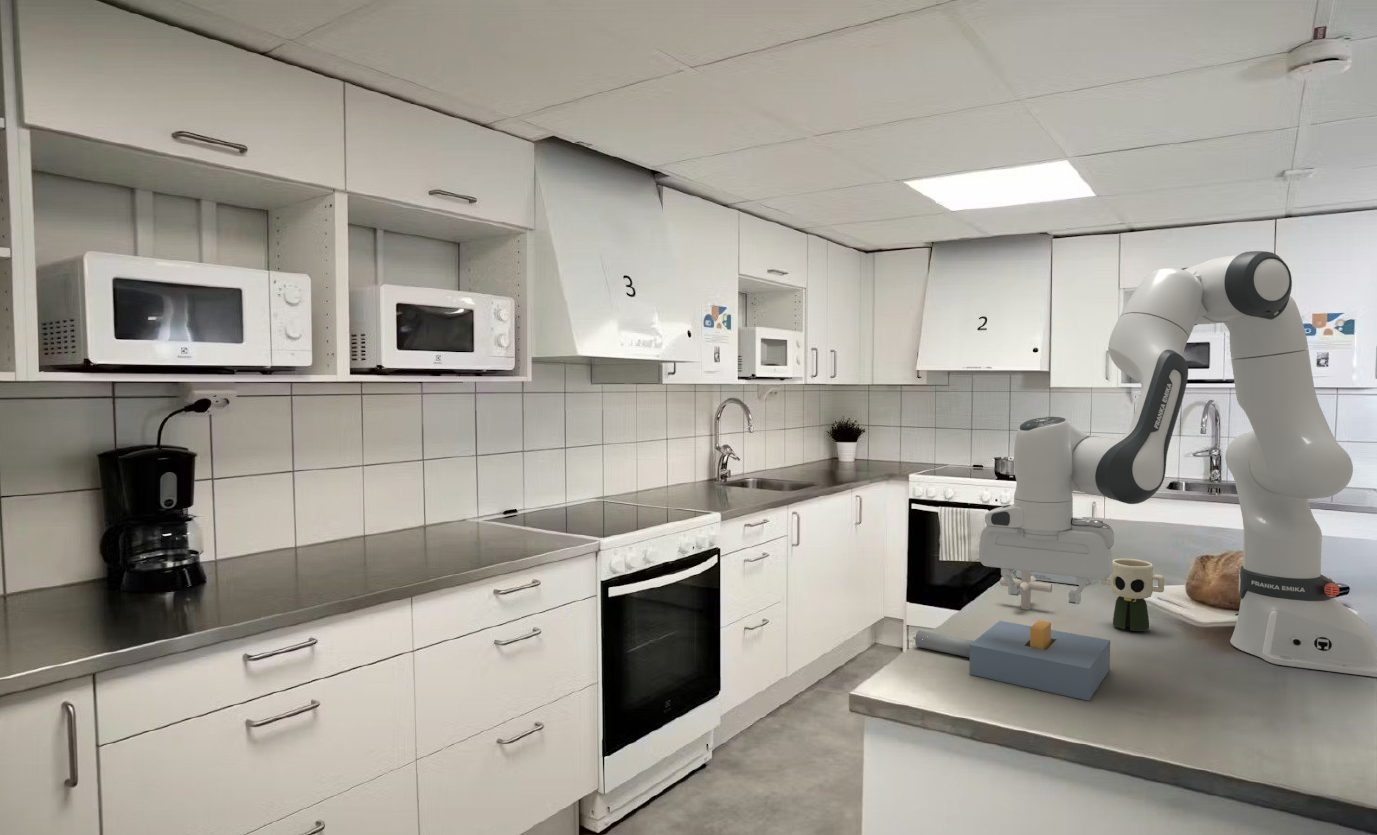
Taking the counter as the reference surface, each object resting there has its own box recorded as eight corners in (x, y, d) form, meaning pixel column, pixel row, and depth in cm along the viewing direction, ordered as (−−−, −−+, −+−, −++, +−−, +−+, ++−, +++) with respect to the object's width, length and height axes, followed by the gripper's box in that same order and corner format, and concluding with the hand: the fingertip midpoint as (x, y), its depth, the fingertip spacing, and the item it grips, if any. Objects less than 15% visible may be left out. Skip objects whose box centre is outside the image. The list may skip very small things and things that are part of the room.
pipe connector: (1045, 618, 161) (1045, 569, 160) (994, 610, 167) (994, 563, 166) (1056, 606, 169) (1057, 560, 168) (1007, 599, 175) (1008, 554, 174)
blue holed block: (1109, 669, 133) (1110, 640, 132) (1088, 700, 120) (1089, 668, 120) (934, 635, 151) (934, 609, 151) (900, 659, 139) (900, 631, 138)
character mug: (1095, 627, 155) (1096, 562, 154) (1104, 619, 160) (1105, 555, 159) (1159, 639, 148) (1161, 570, 147) (1166, 629, 153) (1167, 563, 152)
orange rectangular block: (1037, 666, 135) (1038, 620, 134) (1050, 669, 133) (1051, 622, 133) (1029, 675, 131) (1030, 627, 130) (1042, 678, 129) (1043, 630, 129)
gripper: (1117, 518, 127) (1117, 603, 127) (986, 508, 139) (987, 586, 140) (1109, 524, 122) (1110, 613, 122) (975, 513, 134) (976, 594, 135)
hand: (1043, 598), depth 131 cm, fingers open, 8 cm apart
